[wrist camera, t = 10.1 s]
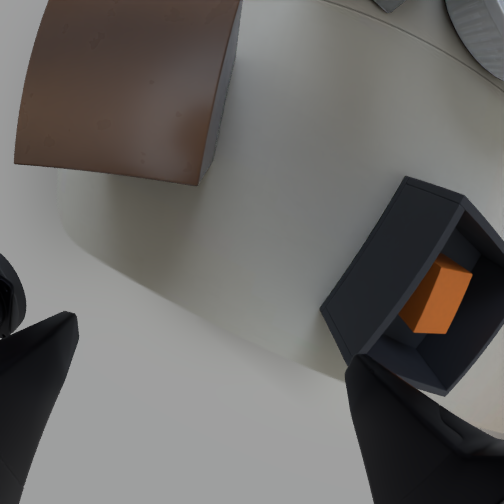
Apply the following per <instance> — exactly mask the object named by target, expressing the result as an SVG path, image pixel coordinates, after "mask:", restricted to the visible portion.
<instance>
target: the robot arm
mask: <svg viewBox="0 0 504 504" xmlns="http://www.w3.org/2000/svg"><path fill="white" fill-rule="evenodd" d="M8 287H9V288H8ZM13 295H14V286H13V284H12V283H11V282H10V281H9V280H7V279H6V278H4V277H3V276H1V275H0V338H2V339H1V340H0V504H19V501H20V498H21V495H22V491H23V486H24V485H25V482H26V478H27V475H28V472H29V469H30V466H31V463H32V460H33V457H34V455H35V452H36V449H37V447H38V444H39V441H40V439H41V436H42V433H43V431H44V428H45V426H46V423H47V421H48V418H49V416H50V413H51V411H52V409H53V406H54V404H55V402H56V399H57V397H58V395H59V393H60V390H61V388H62V386H63V384H64V381H65V379H66V376H67V373H68V370H69V367H70V364H71V361H72V358H73V355H74V352H75V349H76V346H77V343H78V340H79V332H78V322H77V316H76V315H75V313H71V312H67V311H63V312H61V313H59V314H56V315H54V316H52V317H49V318H47V319H45V320H43V321H41V322H38V323H36V324H34V325H32V326H29V327H27V328H25V329H23V330H21V331H18V332H16V333H14V334H12V335H10V333H11V317H12V305H13ZM345 382H346V388H347V394H348V399H349V406H350V412H351V416H352V420H353V424H354V428H355V431H356V435H357V439H358V442H359V446H360V449H361V453H362V457H363V461H364V465H365V469H366V473H367V477H368V480H369V485H370V489H371V493H372V497H373V501H374V504H504V440H501V439H497V438H494V437H492V436H490V435H489V434H486V433H485V432H483V431H481V430H480V429H478V428H476V427H474V426H473V425H471V424H469V423H467V422H466V421H464V420H462V419H461V418H459V417H457V416H456V415H454V414H453V413H451V412H450V411H448V410H447V409H445V408H444V407H442V406H441V405H440V406H439V404H438V403H436V402H435V401H433V400H432V399H430V398H429V397H428V396H426V395H425V394H423V393H422V392H420V391H419V390H417V389H416V388H414V387H413V386H412V385H410V384H409V383H407V382H406V381H404V380H403V379H402V378H400V377H399V376H397V375H396V374H394V373H393V372H391V371H390V370H389V369H387V368H386V367H384V366H383V365H381V364H380V363H379V362H377V361H376V360H374V359H373V358H372V357H370V356H369V355H367V354H358V353H357V354H355V355H354V356H353V357H352V359H351V361H350V364H349V366H348V368H347V370H346V372H345Z"/></svg>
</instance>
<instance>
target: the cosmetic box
mask: <svg viewBox="0 0 504 504" xmlns="http://www.w3.org/2000/svg"><path fill="white" fill-rule="evenodd" d="M374 1H375V2H376V3H377V4H378V5H379V6H380V7H381V8H382V9H383V10H384V11H385V12H387V13H389V12H392V11H393V10H394V9H396V8H397V7H398V6H399V5H401V4H402V3H403V2H404V1H406V0H374Z"/></svg>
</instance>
